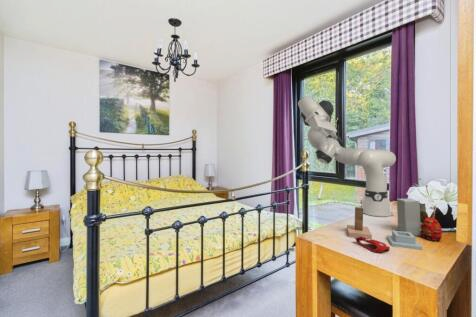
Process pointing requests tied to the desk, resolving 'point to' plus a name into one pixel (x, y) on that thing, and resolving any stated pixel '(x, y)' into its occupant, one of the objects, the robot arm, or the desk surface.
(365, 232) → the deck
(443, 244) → the desk surface
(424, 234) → the red clay folk toy
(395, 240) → the grey square socket base
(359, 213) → the post
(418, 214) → the skincare box
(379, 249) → the tracker holder
